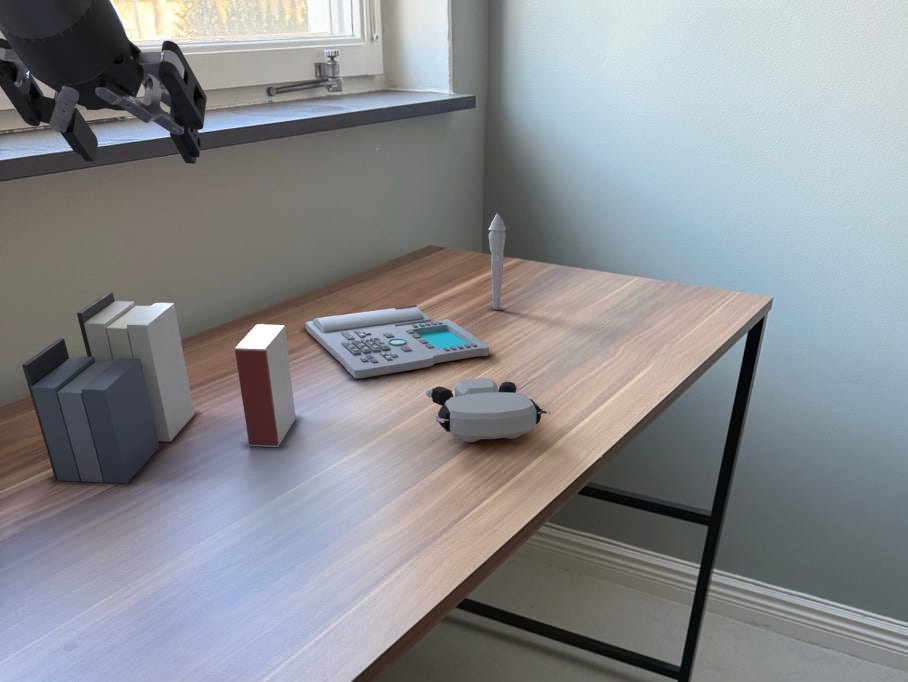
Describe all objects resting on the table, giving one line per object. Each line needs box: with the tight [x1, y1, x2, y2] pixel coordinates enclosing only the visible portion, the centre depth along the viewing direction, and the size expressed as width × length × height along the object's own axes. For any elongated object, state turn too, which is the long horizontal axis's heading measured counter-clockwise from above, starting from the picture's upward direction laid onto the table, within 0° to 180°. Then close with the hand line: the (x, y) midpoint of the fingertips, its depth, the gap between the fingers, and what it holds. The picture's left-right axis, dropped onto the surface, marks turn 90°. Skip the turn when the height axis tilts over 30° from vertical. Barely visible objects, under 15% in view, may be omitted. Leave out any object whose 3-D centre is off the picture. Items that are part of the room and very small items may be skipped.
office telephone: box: [304, 304, 490, 379], centre depth 130 cm, size 23×3×20 cm
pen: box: [487, 212, 507, 311], centre depth 140 cm, size 2×3×14 cm
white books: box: [76, 291, 195, 443], centre depth 102 cm, size 7×8×14 cm
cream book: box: [234, 323, 297, 448], centre depth 102 cm, size 3×8×11 cm, turn 175°
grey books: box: [21, 337, 160, 484], centre depth 95 cm, size 8×9×12 cm
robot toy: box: [425, 377, 552, 443], centre depth 106 cm, size 12×4×15 cm
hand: (142, 153), depth 76 cm, fingers open, 8 cm apart
